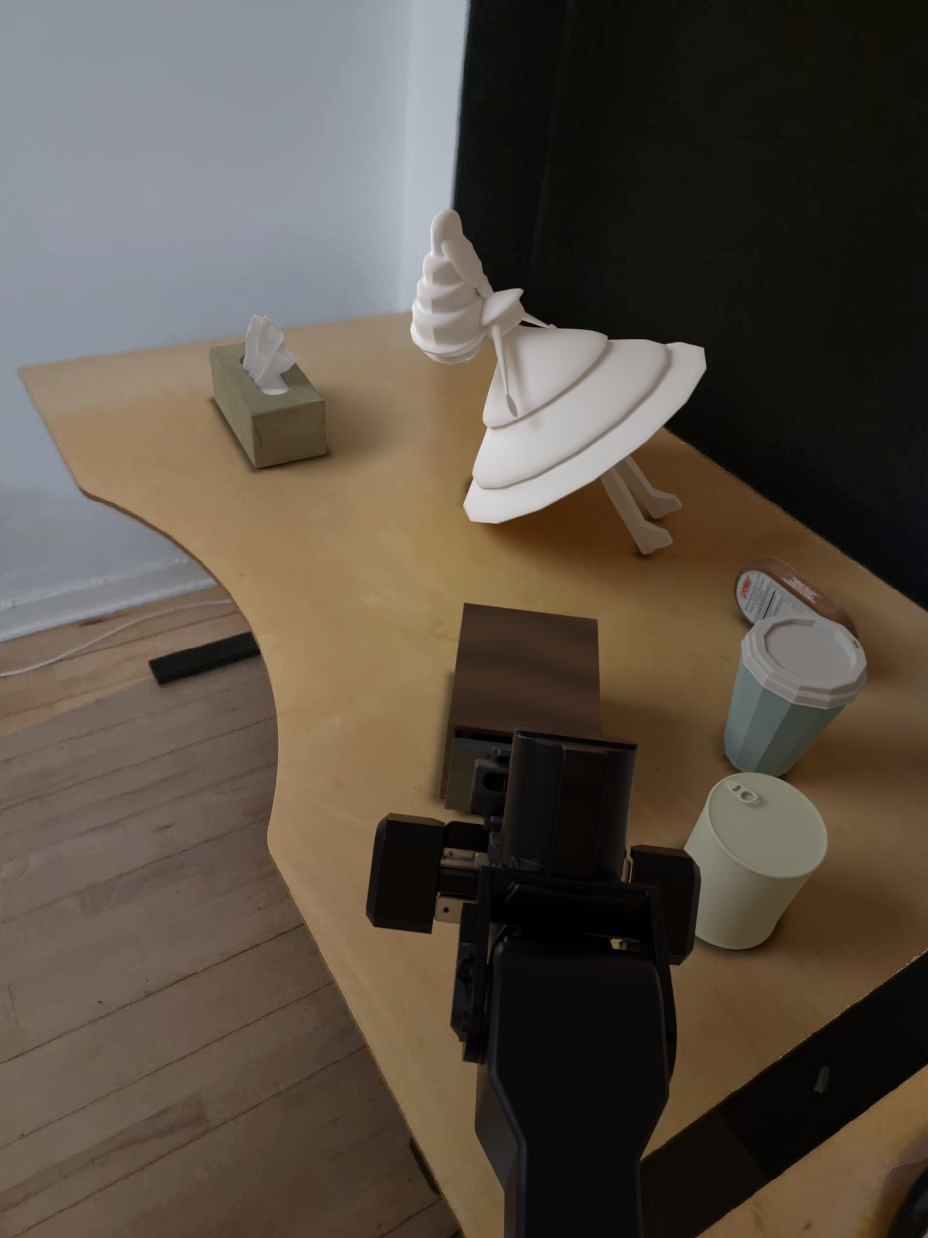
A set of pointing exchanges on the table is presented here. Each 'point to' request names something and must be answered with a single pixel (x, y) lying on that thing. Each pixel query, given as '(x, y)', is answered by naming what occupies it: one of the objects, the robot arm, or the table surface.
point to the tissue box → (268, 397)
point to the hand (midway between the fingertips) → (522, 851)
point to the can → (753, 856)
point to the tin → (784, 594)
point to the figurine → (550, 394)
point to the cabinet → (522, 674)
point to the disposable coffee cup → (790, 689)
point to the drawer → (468, 765)
